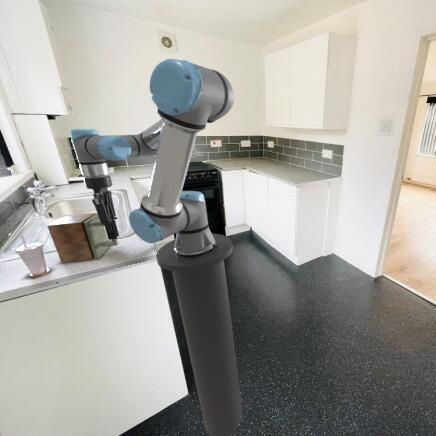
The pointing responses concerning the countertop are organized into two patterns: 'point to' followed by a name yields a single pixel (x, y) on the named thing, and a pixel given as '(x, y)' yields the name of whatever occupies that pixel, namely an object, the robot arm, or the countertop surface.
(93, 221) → the door
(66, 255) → the cabinet
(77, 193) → the countertop surface
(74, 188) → the countertop surface
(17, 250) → the smoothie
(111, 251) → the countertop surface
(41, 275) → the coaster
